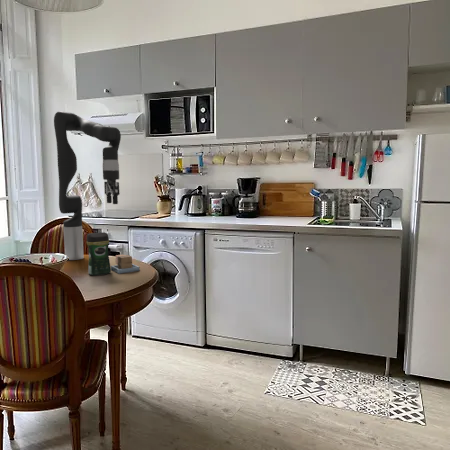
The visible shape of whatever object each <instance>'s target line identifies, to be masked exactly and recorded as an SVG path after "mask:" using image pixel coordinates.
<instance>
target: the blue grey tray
mask: <svg viewBox="0 0 450 450" xmlns="http://www.w3.org/2000/svg"><path fill="white" fill-rule="evenodd" d="M110 267H111V271H113V273H116V274H118V275H120V274H126V273H127V274H128V273H133V272H140V271H141V269H140V266H138V265H136V264H134V263H132V268H125V269H118V264H115V265H110Z"/></svg>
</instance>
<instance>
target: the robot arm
mask: <svg viewBox="0 0 450 450" xmlns="http://www.w3.org/2000/svg"><path fill="white" fill-rule="evenodd" d="M53 127H54V135H55V141H56V150H57V151H56V153H57V154H56V155H57V172H58V173H57V174H58V208H59V212H60V213H61V214H65V215H66V214H73V215H72V216H70V218H67V219H65V220H63V221H62V222H63V223H62V224H63V243H64V245H63V246H64V256H65V255H67V256H68V257H69V260H68V261H75V260H77V261H78V260H83V259H84V258H85V255H84V240H83V238H84V236H83V234H84V233H83V202H82V201H83V200H82V197H81V196H80V195H78V194H77V195H74V194H73V195H67V193H68V188H69V185H70V183H71V181H72V180H73V178H75V175H76V173H77V170H78V161H77V160H78V159H77V155H76V153H75V151H74V149H73V148H72V146H71V144H70V142H69V139H68V134H67V132H75V131H76V132H83V134H85V135H87V136H89V137H91V138H95V139H97V140H98V141H101V142H103V143H108V146H107V147H104V148H102V179H103V180H104V185H103V187H104V195H106V204H111V203H112V205H118V204H119V201H118V200H119V199H118V198H119V197H118V196H120V193H121V192H120V182H119V180H120V164H119V152H118V151H119V149H120V144H121V138H122V135H121V132H120V129H119V128H117V127H114V126H106V125H103V124H101V123H98V122H95V121H92V120H88V119H85V118H83V117H81V116H79V115H77V114H75V113H74V112H68V111H59V110H58V111H56V112H55V114H54V117H53ZM105 180H106V181H105ZM117 180H118V181H117Z"/></svg>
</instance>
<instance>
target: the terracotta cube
mask: <svg viewBox="0 0 450 450" xmlns="http://www.w3.org/2000/svg"><path fill="white" fill-rule="evenodd" d="M123 255H124V254H118V255H117V254H116V255H115V264H116V265H118V256H123Z"/></svg>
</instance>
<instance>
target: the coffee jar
mask: <svg viewBox="0 0 450 450" xmlns="http://www.w3.org/2000/svg"><path fill="white" fill-rule="evenodd" d="M86 235H87V236H86V245H87V247H88V266H87V267H88V269H87V272H88V275H89V276H102V275H103V276H104V275H107V274H111V271H112V270H111V263H110V256H109V249H108V248H109V244H110V239H109V234H108V232H105V231H103V232H91V233H87V234H86Z"/></svg>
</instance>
